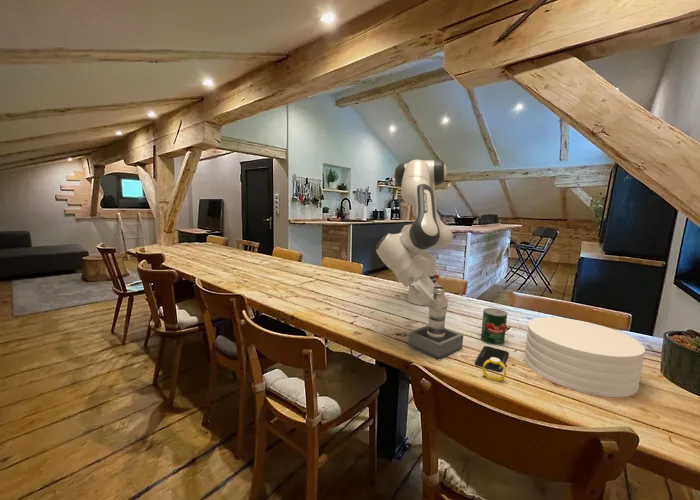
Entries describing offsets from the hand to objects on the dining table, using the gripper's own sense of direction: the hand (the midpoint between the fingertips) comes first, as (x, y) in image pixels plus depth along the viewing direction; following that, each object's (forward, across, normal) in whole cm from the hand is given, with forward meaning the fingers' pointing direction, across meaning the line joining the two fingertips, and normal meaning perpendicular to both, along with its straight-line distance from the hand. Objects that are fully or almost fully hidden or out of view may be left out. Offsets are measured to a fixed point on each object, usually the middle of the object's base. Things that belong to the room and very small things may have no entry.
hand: (439, 305), depth 105 cm
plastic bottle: (+9, 0, +10) cm, 14 cm away
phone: (+23, -3, -1) cm, 23 cm away
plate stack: (+40, -1, -18) cm, 44 cm away
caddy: (+10, 0, +11) cm, 15 cm away
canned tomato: (+24, +13, -3) cm, 28 cm away
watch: (+22, -15, 0) cm, 26 cm away
